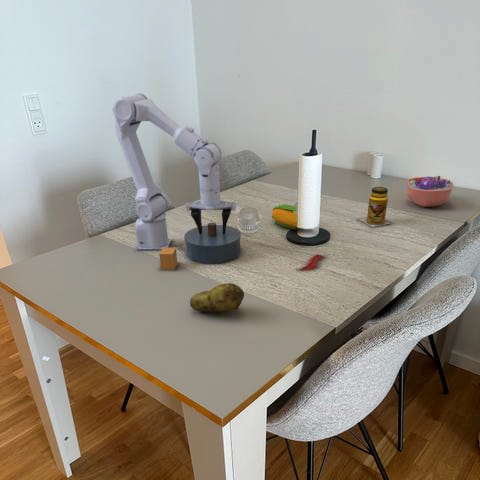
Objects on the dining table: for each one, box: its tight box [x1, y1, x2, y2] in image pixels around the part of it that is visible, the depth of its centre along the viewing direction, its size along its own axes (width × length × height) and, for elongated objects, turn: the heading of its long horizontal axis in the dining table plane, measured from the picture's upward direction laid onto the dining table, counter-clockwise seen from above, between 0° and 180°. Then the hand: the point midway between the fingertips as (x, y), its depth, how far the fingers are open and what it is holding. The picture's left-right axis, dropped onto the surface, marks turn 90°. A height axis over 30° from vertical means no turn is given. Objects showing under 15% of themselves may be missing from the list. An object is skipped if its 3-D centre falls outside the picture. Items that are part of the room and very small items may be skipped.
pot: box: [185, 238, 241, 265], centre depth 143 cm, size 16×16×5 cm
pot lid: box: [184, 222, 242, 247], centre depth 141 cm, size 17×17×4 cm
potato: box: [189, 282, 245, 313], centre depth 112 cm, size 8×13×8 cm, turn 57°
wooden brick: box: [158, 247, 178, 271], centre depth 136 cm, size 4×5×5 cm
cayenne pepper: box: [299, 254, 324, 272], centre depth 135 cm, size 12×5×2 cm, turn 131°
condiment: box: [358, 186, 391, 228], centre depth 161 cm, size 7×8×12 cm
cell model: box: [405, 175, 455, 208], centre depth 176 cm, size 17×20×11 cm
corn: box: [271, 203, 298, 231], centre depth 159 cm, size 7×8×20 cm
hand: (212, 233), depth 141 cm, fingers open, 6 cm apart
